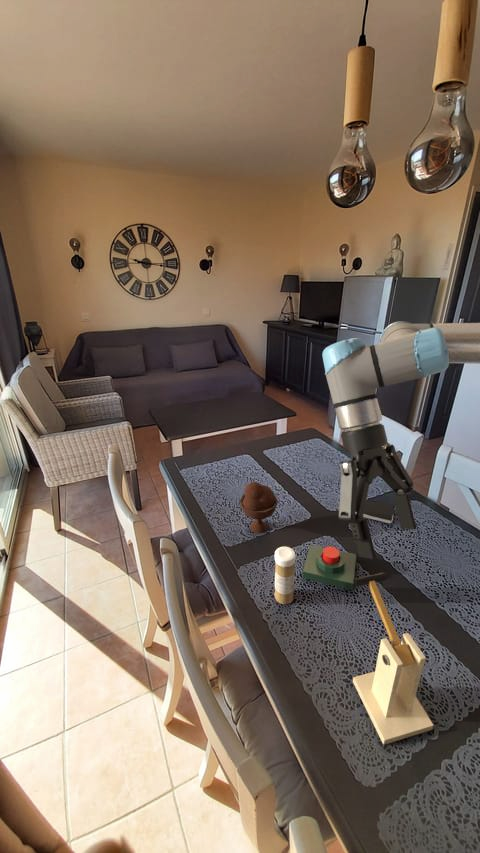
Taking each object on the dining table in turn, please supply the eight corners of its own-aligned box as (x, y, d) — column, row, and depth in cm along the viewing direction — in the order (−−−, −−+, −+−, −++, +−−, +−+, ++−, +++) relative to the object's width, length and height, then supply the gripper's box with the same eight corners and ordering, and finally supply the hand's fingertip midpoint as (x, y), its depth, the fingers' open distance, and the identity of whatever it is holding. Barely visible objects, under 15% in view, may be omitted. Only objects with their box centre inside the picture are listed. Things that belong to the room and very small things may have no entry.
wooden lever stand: (352, 681, 67) (361, 626, 61) (395, 669, 69) (408, 615, 63) (383, 744, 58) (396, 687, 52) (432, 729, 60) (450, 672, 54)
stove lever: (351, 580, 66) (355, 576, 64) (380, 574, 67) (385, 570, 65) (385, 671, 58) (391, 669, 56) (418, 662, 59) (425, 660, 57)
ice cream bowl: (247, 543, 101) (246, 499, 95) (236, 519, 111) (235, 477, 105) (282, 535, 104) (283, 491, 98) (269, 512, 114) (269, 471, 108)
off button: (339, 554, 91) (340, 548, 91) (338, 566, 88) (338, 559, 87) (323, 551, 93) (324, 545, 92) (321, 562, 89) (321, 555, 88)
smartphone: (392, 521, 106) (340, 509, 112) (391, 524, 107) (340, 512, 113) (394, 506, 113) (345, 495, 119) (393, 509, 114) (344, 498, 119)
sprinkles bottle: (282, 586, 87) (283, 542, 82) (297, 596, 84) (299, 552, 79) (270, 597, 85) (270, 553, 79) (285, 609, 82) (286, 563, 76)
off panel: (355, 560, 94) (357, 549, 93) (352, 590, 86) (354, 578, 84) (309, 550, 98) (310, 539, 96) (302, 578, 90) (303, 565, 88)
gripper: (380, 418, 75) (405, 517, 75) (298, 444, 60) (328, 567, 60) (415, 411, 69) (442, 519, 69) (333, 438, 54) (367, 575, 54)
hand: (389, 542), depth 64 cm, fingers open, 13 cm apart
